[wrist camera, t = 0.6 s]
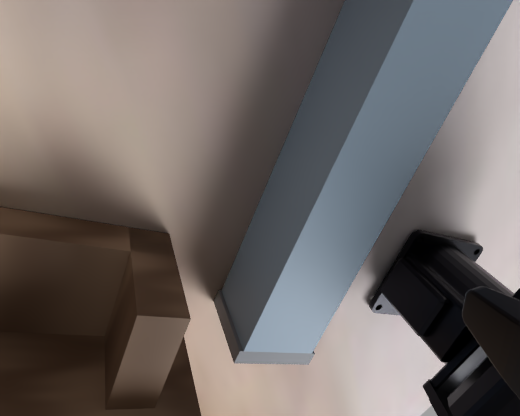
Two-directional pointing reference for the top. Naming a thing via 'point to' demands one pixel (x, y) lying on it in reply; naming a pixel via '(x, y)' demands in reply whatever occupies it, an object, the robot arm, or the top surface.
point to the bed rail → (347, 166)
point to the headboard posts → (90, 320)
